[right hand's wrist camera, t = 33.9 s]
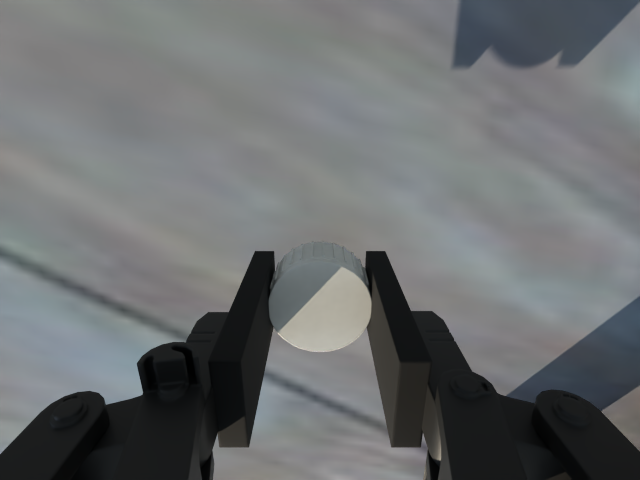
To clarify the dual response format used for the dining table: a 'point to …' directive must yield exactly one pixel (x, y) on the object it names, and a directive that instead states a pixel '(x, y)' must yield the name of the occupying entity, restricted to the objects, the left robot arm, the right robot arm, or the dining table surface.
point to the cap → (320, 297)
